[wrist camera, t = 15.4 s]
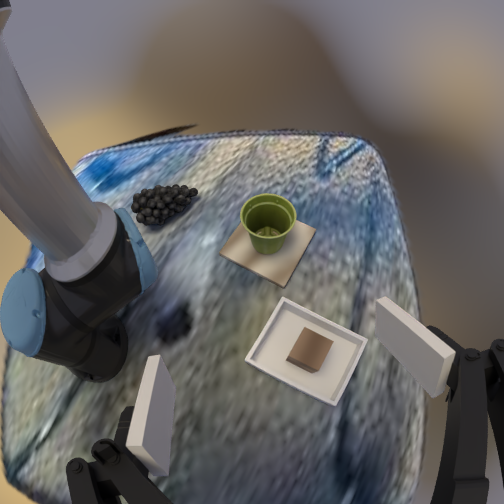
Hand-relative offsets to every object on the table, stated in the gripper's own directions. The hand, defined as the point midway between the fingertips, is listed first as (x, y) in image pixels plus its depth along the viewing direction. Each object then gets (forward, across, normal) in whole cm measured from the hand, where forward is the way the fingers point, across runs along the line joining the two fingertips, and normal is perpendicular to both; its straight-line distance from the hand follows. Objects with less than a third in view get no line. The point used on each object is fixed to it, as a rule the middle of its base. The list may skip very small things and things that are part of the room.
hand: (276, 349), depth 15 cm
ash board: (+40, +7, -5) cm, 41 cm away
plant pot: (+39, +6, -4) cm, 40 cm away
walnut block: (+23, +7, -20) cm, 32 cm away
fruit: (+50, -12, +4) cm, 51 cm away
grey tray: (+24, +7, -21) cm, 33 cm away
